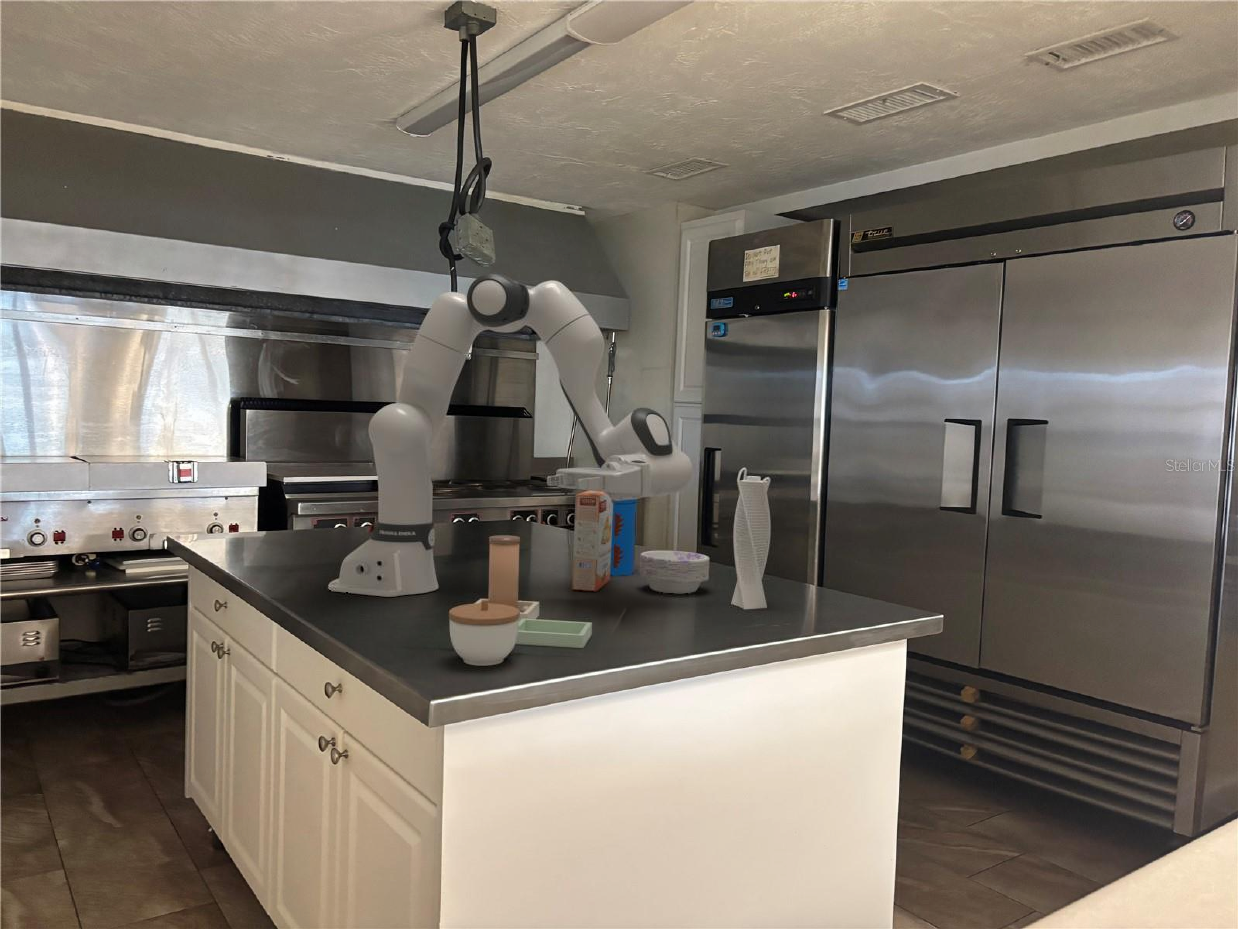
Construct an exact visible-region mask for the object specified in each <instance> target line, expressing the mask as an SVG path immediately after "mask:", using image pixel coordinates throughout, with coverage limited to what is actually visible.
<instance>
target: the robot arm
mask: <svg viewBox="0 0 1238 929" xmlns="http://www.w3.org/2000/svg"><path fill="white" fill-rule="evenodd" d="M424 317H425V318H424V319H423V320H422V323H421V325H420V327H419V330H418V331H417V334H416V336H415V339H414V341H413V344H412V346H411V348H410V351H409V353H408V356H407V358H406V361H404V362H405V363H404V365H403V368H402V378H401V379H402V380H401V383H400V388H399V393H398V396H397V400H396V402H395V403H390V404H388V405H385V406H383V407H382V408H381V409H379V410H378V411H377V412H376V413H375V414H374V415H373V416H372V417H371V419H370V421H369V424H368V429H367V430H368V437H369V440H370V442H371V444H372V449H373V450H372V451H373V457H374V463H375V470H376V475H377V476H376V477H377V485H378V486H377V487H378V497H377V498H378V503H377V504H378V505H377V506H378V510H377V512H378V520H377V521H374V523H372V524H371V525H369V526H367V527H366V533H369V539H368V540H367V541H366V540H365V542H364V543H362V544H361V545H360V546H359V547H357V548H355V550H353V551H352V552H350V553H348V555H347V556H346V557H345V558H343V561H342V562H341V566H340V570H339V577H338V578H336V579H333V580H332V581H330V582H329V584H328V585H327V590H328V589H329V590H331V591H330V592H338V593H339V592H340V593H346V592H348V593H347V594H349V593H350V594H357V595H367V596H378V597H385V598H386V597H388V598H391V597H398V596H405V595H417V594H425V593H429V592H434V591H436V590H438V589H439V587H440V586H439V583H438V579H437V574H436V569H435V560H434V553H433V552H434V550H433V549H434V545H435V536H436V535H435V523H434V521H433V487H434V484H433V482H432V478H431V474H430V473H431V472H430V468H429V461H428V452H429V451H430V450H431V449H432V448H434V446H435V445H436V444H437V443H438V442H439V439H440V437H441V434H442V429H443V425H444V423H445V420H446V416H447V413H448V410H449V406H450V402H451V397H452V394H453V392H454V388H455V386H456V384H457V381H458V380H459V376H460V374H461V371H462V369H463V367H464V365H465V362H466V361H467V360H466V359H467V357H468V355H469V353H470V350H471V348H472V346H473V344H474V341H475V339H476V337H477V336H478V335H479V334H480V333H482V332H483V331H484V332H485V333H494V334H501V335H513V334H518V333H520V332H522V331H524V330H525V329H526V328H527V327H530V328H531V329H532V330H533V331H534V332H535V333H536V334H537V335H538V337H539V338H540V339H541V341H542V343H543V344H544V345H545V347H546V348H547V350H548V351H549V353H550V355H551V357H552V358H553V360H554V363H555V365H556V369H557V372H558V375H559V377H558V378H559V385H560V387H561V389H562V392H563V395H564V397H565V399H566V400H567V403H568V405H569V406H570V409H571V410H572V412H573V414H574V416H575V418H576V419H577V422H578V424H579V425H580V427H581V428H582V431H583V433H584V435H585V436H586V439H587V441H588V443H589V446H590V449H591V450H592V451H591V452H592V455H593V457H594V460H595V463H596V464H597V466H598V467H600V468H595V467H571V468H570V467H569V468H568V467H567V468H566V467H565V468H559V469H557V470H556V471H555V472H556V473H555V474H556V475H548V476H547V478H546V484H547V486H550V487H557V488H563V489H572V490H582V491H599V492H604V493H606V494H607V495H608V496H609V497H610V498H611V499H613V500H615V501H621V500H631V499H636V500H637V499H642V498H648V497H649V498H655V497H656V498H658V497H664V496H670V495H674V494H677V493H679V492H681V491H683V490H684V489H685V488H687V486H688V484H689V483H690V481H691V478H692V474H693V464H692V462H691V459H690V457H689V456H688V455H687V454H686V453H684V452H683V451H682V450H680V448H679V447H677V445H676V442H674V440H673V439H672V437H671V436H672V435H671V432H670V428H669V425H668V423H667V421H666V419H665V418H664V417H663V416H662V415H661V413H660V412H657V411H655V410H654V409H652V408H649V407H638V408H635V409H633V411H632V412H630V413H629V414H628V415H627V416H626V417H625V418H623V419H622V420H621V421H620V422H619V423H618V424H617V425H615V426H614V425H613V424H612V422H611V420H610V418H609V417H608V414H607V413H606V411H605V409H604V407H603V405H602V403H601V401H600V400H599V398H598V395H597V392H596V378H597V374H598V370H599V367H600V365H601V362H602V360H603V356H604V351H605V339H604V337H603V336H604V335H603V334H602V331H601V329H600V327H599V325H598V324H597V323H596V321H595V320H594V319H593V317H592V316H591V314H590V313H589V312H588V310H587V308H585V306H584V305H583V304H582V303H581V302H580V300H579V299H578V298H577V297H576V296H575V294H574V293H573V292H572V291H570V289H568V287H567V286H565V285H564V284H563V283H562V282H560V281H558V280H547V281H543V282H541V283H539V284H537V285H536V286H534V287H533V288H530V289H528V287H527V286H526V284H523V283H522V282H519V281H517V280H515V279H512V278H511V277H509V276H507V275H504V274H500V273H486V274H483V275H481V276H478V277H477V278H475V280H473V282H472V283H471V284H470V286H469V287H468V290H467V293H466V294H464V293H460V292H456V291H448V292H444V293H442V294H440V295H438V297H437V298H436V299H435V301H434V302H433V304H432V306H431V307H430V308H429V310H428V312H427V314H426V315H425V316H424ZM329 590H328V591H329Z"/></svg>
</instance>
